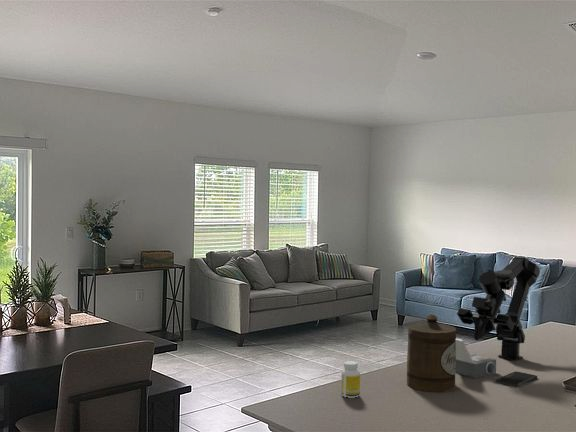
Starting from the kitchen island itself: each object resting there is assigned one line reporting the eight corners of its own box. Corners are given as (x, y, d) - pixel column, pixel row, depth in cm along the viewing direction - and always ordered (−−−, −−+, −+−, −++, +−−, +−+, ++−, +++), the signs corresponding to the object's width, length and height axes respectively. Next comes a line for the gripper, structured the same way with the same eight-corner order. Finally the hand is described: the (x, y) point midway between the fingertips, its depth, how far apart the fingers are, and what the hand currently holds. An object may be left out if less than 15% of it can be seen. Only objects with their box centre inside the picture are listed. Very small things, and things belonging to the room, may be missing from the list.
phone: (538, 376, 201) (517, 385, 191) (538, 379, 201) (517, 389, 191) (515, 371, 207) (493, 380, 196) (515, 374, 207) (493, 383, 196)
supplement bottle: (363, 396, 182) (363, 363, 181) (350, 400, 178) (351, 366, 178) (350, 391, 186) (350, 359, 185) (337, 395, 182) (337, 362, 182)
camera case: (474, 367, 214) (475, 353, 214) (497, 373, 207) (497, 359, 207) (454, 372, 208) (454, 358, 208) (476, 378, 200) (476, 364, 200)
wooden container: (456, 393, 184) (458, 320, 184) (406, 390, 187) (407, 318, 187) (453, 379, 199) (454, 311, 198) (406, 376, 202) (407, 309, 201)
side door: (444, 335, 204) (443, 337, 203) (463, 339, 198) (461, 341, 197) (456, 358, 207) (454, 360, 207) (474, 363, 201) (473, 365, 201)
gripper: (460, 285, 217) (442, 320, 210) (510, 291, 203) (493, 329, 196) (471, 304, 222) (454, 340, 215) (521, 312, 209) (505, 350, 202)
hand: (475, 339), depth 207 cm, fingers closed
